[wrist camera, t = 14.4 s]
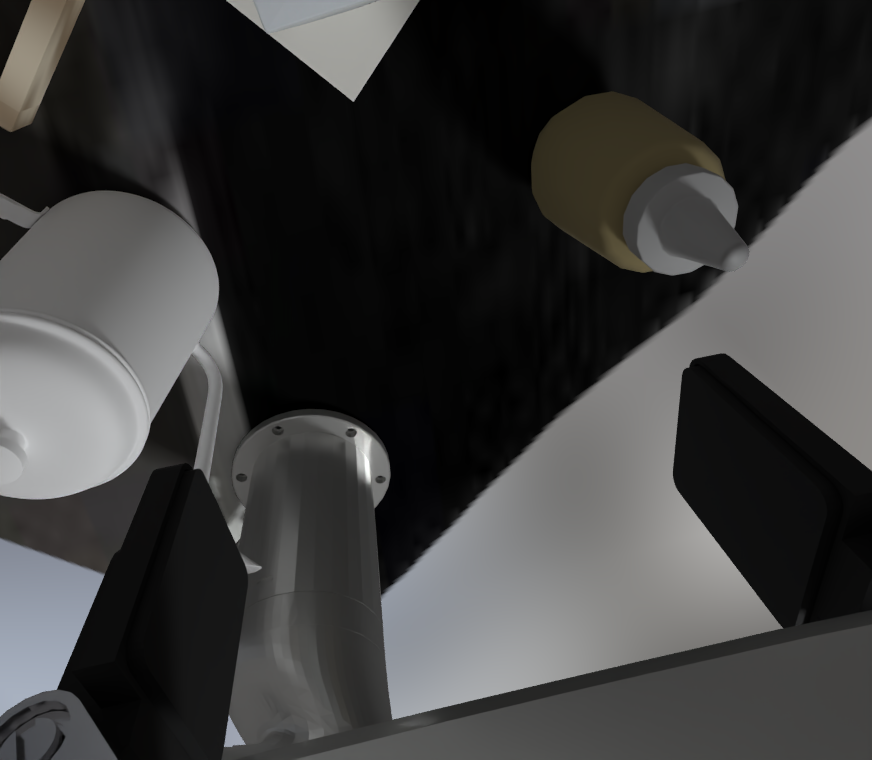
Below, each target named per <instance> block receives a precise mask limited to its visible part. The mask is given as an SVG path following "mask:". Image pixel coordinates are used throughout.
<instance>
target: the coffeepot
mask: <svg viewBox="0 0 872 760" xmlns="http://www.w3.org/2000/svg"><path fill="white" fill-rule="evenodd" d="M0 218H2V219H4V220H5V219H7V220H9V221H11V222H13V223H15V224H17V225H19V226H21V227H24V228H30V230H29V231H28V232H27V233H26V234H25V235H24V236H23V237H22V238H21V239H20V240H19V241H18V242H17V243H16V244H15V246H14V247H13V248H12V249H11V250H10V251H9V252H8V253H7V254H6V255H5V256H4V257H3V258H2V259H1V260H0V495H3V496H7V497H13V498H22V499H51V498H58V497H63V496H67V495H72V494H75V493H78V492H81V491H84V490H86V489H89V488H92V487H95V486H98V485H101V484H103V483H105V482H108V481H110V480H112V479H113V478H115V477H117V476H118V475H120V474H121V473H123V472H124V471H125V470H126V469H127V468H128V467H130V466H131V464H132V463H133V462H134V461H135V460H136V459H137V457H138V456H139V454H140V453H141V451H142V449H143V447H144V445H145V442H146V440H147V437H148V434H149V430H150V424H151V422H152V420H153V419H154V417H155V415H156V414H157V412H158V410H159V408H160V407H161V405H162V403H163V402H164V400H165V398H166V396H167V395H168V393H169V391H170V390H171V388H172V386H173V385H174V383H175V381H176V379H177V378H178V376H179V374H180V373H181V371H182V369H183V367H184V366H185V364H186V362H187V361H188V359H189V357H190V355H192V356H193V357H194V358H195V359H196V360H197V361H198V362H199V363H200V365H201V366H202V367H203V369H204V371H205V373H206V376H207V379H208V395H207V402H206V407H205V412H204V418H203V423H202V428H201V433H200V439H199V444H198V449H197V454H196V459H195V465H194V469H201V470H202V471H203V473H204V475H205V477H206V479H207V482H208V483H209V477H210V470H211V464H212V458H213V452H214V445H215V439H216V433H217V426H218V420H219V414H220V407H221V401H222V392H223V382H222V377H221V373H220V370H219V368H218V366H217V364H216V362H215V361H214V359H213V358H212V357H211V355H210V354H209V353H208V352H207V351H206V350H205V349H204V348H203V347H202V346H201V345H200V342H199V340H200V338H201V337H202V335H203V333H204V332H205V330H206V328H207V326H208V325H209V323H210V321H211V319H212V317H213V315H214V313H215V310H216V306H217V302H218V295H219V281H218V275H217V270H216V267H215V264H214V261H213V258H212V256H211V254H210V252H209V250H208V248H207V247H206V245H205V244H204V242H203V241H202V239H201V238H200V237H199V235H198V234H197V233H196V232H195V231H194V229H193V228H192V227H191V226H190V225H189V224H188V223H187V222H185V221H184V220H183V219H182V218H181V217H179V216H178V215H177V214H175V213H174V212H172V211H171V210H169V209H168V208H166V207H164V206H162V205H161V204H159V203H157V202H154V201H152V200H150V199H147V198H144V197H141V196H138V195H134V194H130V193H126V192H119V191H92V192H86V193H81V194H78V195H75V196H72V197H69V198H67V199H65V200H63V201H61V202H59V203H57V204H56V205H55V206H53V207H52V208H51V209H49V207H47V206H46V207H45V209H44V210H42V211H41V212H35V211H33V210H31V209H29V208H27V207H25V206H24V205H22V204H20V203H18V202H16V201H14V200H12V199H11V198H9V197H7V196H5V195H3V194H1V193H0ZM240 554H241V557H242V559H243V561H244V563H245V566H246V569H247V573H248V574H250V573H254V572H256V571H258V570H260V569H261V568H262V567H261V566H260V565H258V564H257V563H255V562H254V561H252V560H251V559H249V558H248V557H246V556H245V555H243V554H242V553H241V552H240Z"/></svg>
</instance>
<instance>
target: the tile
mask: <svg viewBox="0 0 872 760" xmlns="http://www.w3.org/2000/svg"><path fill="white" fill-rule="evenodd" d="M227 1H228V2H229V3H230V4H232V5H233V6H234V7H235V8H237V9H238V10H239V11H240V12H242V13H243V14H244V15H245V16H247V17H248V18H249V19H250V20H252V21H253V22H254V23H255V24H257V25H258V26H259V27H260V28H262V29H263V30H264V28H263V25H262V23H261V20H260V17H259V15H258V12H257V10H256V7H255V5H254V2H253V0H227ZM418 2H419V0H379V1H376V2H373V3H370V4H367V5H364V6H361V7H358V8H355V9H352V10H349V11H346V12H343V13H340V14H337V15H333V16H330V17H327V18H323V19H320V20H317V21H313V22H310V23H306V24H303V25H300V26H296V27H292V28H289V29H285V30H281V31H278V32H273V33H268V34H269V35H270V36H272V37H273V38H274V39H275V40H277V41H278V42H279V43H280V44H282V45H283V46H284V47H286V48H287V49H288V50H289V51H291V52H292V53H293V54H294V55H296V56H297V57H298V58H299V59H301V60H302V61H303V62H304V63H306V64H307V65H308V66H309V67H311V68H312V69H313V70H314V71H316V72H317V73H318V74H319V75H321V76H322V77H323V78H324V79H326V80H327V81H328V82H329V83H331V84H332V85H333V86H334V87H336V88H337V89H338V90H339V91H341V92H342V93H343V94H344V95H346V96H347V97H348V98H349V99H351V100H352V101H353V102H354V100H355V99H356V97H357V96H358V94H359V92H360V91H361V89H362V88H363V86H364V85H365V83H366V82H367V80H368V79H369V77H370V76H371V74H372V73H373V71H374V69H375V68H376V66H377V65H378V63H379V62H380V60H381V59H382V57H383V56H384V54H385V53H386V51H387V49H388V48H389V46H390V45H391V43H392V42H393V40H394V39H395V37H396V36H397V34H398V33H399V31H400V29H401V28H402V26H403V25H404V23H405V22H406V20H407V19H408V17H409V16H410V14H411V13H412V11H413V10H414V8H415V6H416V5H417V3H418ZM264 31H265V30H264Z"/></svg>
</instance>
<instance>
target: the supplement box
mask: <svg viewBox="0 0 872 760" xmlns="http://www.w3.org/2000/svg"><path fill="white" fill-rule="evenodd" d="M376 1H379V0H253V2H254V5H255V7H256V10H257V12H258V15H259V17H260V20H261V23H262V25H263V28H264V30H265V32H266V33H273V32H278V31H281V30H285V29H289V28H292V27H296V26H300V25H303V24H306V23H310V22H313V21H317V20H320V19H323V18H327V17H330V16H333V15H337V14H340V13H343V12H346V11H349V10H352V9H355V8H358V7H361V6H364V5H367V4H370V3H373V2H376Z"/></svg>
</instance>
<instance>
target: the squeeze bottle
mask: <svg viewBox="0 0 872 760" xmlns="http://www.w3.org/2000/svg"><path fill="white" fill-rule="evenodd" d="M531 176H532V193H533V195H534V197H535V199H536V201H537V204H538V206H539V208H540V210H541V212H542V214H543V215H544V216H545V217H546V218H548V219H549V220H550V221H551V222H553V223H554V224H555V225H556V226H558V227H559V228H560V229H561V230H563V231H565V232H566V233H568V234H569V235H571V236H572V237H574V238H575V239H577V240H578V241H580V242H582V243H583V244H585V245H586V246H588V247H589V248H591V249H592V250H594V251H595V252H597V253H598V254H600V255H602V256H603V257H605V258H606V259H608V260H609V261H611V262H612V263H614V264H615V265H617V266H619V267H620V268H623V269H628V270H633V271H637V272H642V273H644V272H649V271H654V272H658V273H662V274H667V275H678V274H683V273H688V272H692V271H694V270H695V269H697V268H699V267H701V266H702V265H708V266H711V267H715V268H718V269H721V270H725V271H729V272H730V271H735V270H737V269H739V268H740V267H742V266H743V265H744V264H745V263H746V261H747V259H748V257H749V249H748V246H747V245H746V244H745V243H744V241H743V240H742V239H741V237H740V236H739V235H738V234H737V232H736V231H735V230H734V227H735V223H736V217H737V210H738V204H737V200H736V197H735V193H734V189H733V188H732V187H731V186H730V185H729V184H728V183H727V182H726V180H725V177H724V173H723V169H722V166H721V162H720V159H719V158H718V157H717V156H716V155H715V154H714V153H713V152H712V151H711V150H710V149H709V148H708V147H707V146H706V145H705V144H704V143H703V142H702V141H700V140H699V139H697V138H696V137H694V136H693V135H691V134H690V133H688V132H687V131H685V130H684V129H682V128H681V127H679V126H678V125H676V124H675V123H673V122H672V121H670V120H669V119H667V118H666V117H664V116H663V115H661V114H660V113H658V112H657V111H655V110H654V109H652V108H651V107H649V106H648V105H646V104H645V103H643V102H642V101H640V100H639V99H637V98H633V97H630V96H627V95H623V94H620V93H616V92H613V91H612V92H606V93H600V94H595V95H589V96H584V97H583V98H581V99H580V100H578V101H577V102H575V103H573V104H572V105H570V106H569V107H567V108H566V109H564V110H562V111H561V112H559V113H558V114H556V115H555V116H553V117H552V118H551V119H550V120H549V122H548V123H547V124H546V126H545V127H544V128H543V129H542V131H541V132H540V133H539V136H538V139H537V142H536V145H535V148H534V151H533V156H532V162H531Z"/></svg>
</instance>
